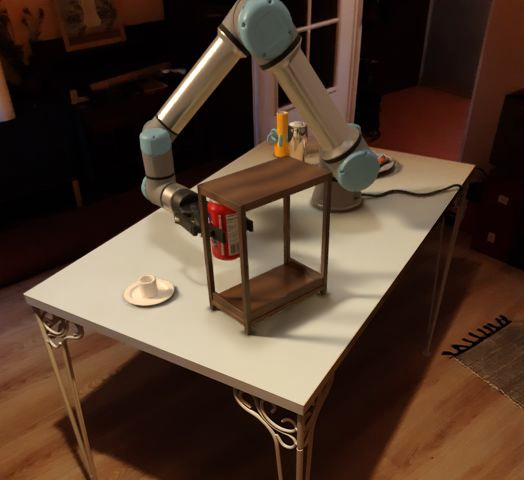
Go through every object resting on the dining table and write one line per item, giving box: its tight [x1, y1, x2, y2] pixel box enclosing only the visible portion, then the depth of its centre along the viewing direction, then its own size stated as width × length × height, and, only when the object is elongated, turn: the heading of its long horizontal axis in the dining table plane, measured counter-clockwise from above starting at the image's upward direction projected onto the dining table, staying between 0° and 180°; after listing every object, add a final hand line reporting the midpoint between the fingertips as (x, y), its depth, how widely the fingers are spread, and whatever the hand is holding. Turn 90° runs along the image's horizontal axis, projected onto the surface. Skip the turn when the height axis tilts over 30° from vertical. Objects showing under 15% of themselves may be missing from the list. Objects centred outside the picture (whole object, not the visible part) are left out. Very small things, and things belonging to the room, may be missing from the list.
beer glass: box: [287, 120, 309, 162], centre depth 194 cm, size 7×7×15 cm
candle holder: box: [123, 274, 175, 306], centre depth 135 cm, size 12×12×4 cm
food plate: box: [371, 149, 396, 174], centre depth 197 cm, size 25×23×4 cm
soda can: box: [208, 198, 240, 262], centre depth 133 cm, size 8×8×15 cm
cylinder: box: [266, 110, 290, 158], centre depth 204 cm, size 12×10×15 cm
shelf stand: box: [196, 155, 332, 336], centre depth 123 cm, size 14×24×30 cm, turn 130°
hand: (238, 232), depth 130 cm, fingers closed on soda can, 7 cm apart
